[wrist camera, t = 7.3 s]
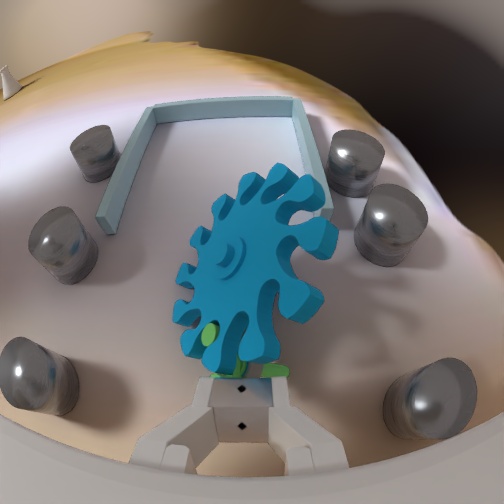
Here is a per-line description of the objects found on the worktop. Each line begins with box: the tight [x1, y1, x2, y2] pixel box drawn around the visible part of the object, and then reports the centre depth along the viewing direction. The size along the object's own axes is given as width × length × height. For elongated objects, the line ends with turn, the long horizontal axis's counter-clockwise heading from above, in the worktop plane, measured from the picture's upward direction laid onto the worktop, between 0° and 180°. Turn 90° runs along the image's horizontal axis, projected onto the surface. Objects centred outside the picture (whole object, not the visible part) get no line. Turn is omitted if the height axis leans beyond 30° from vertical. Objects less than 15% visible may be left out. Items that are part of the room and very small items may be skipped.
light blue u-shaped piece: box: [95, 96, 334, 234], centre depth 22 cm, size 16×15×2 cm
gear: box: [173, 163, 339, 378], centre depth 14 cm, size 11×6×10 cm
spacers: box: [0, 125, 477, 439], centre depth 16 cm, size 26×24×4 cm
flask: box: [0, 66, 22, 100], centre depth 44 cm, size 7×7×10 cm
